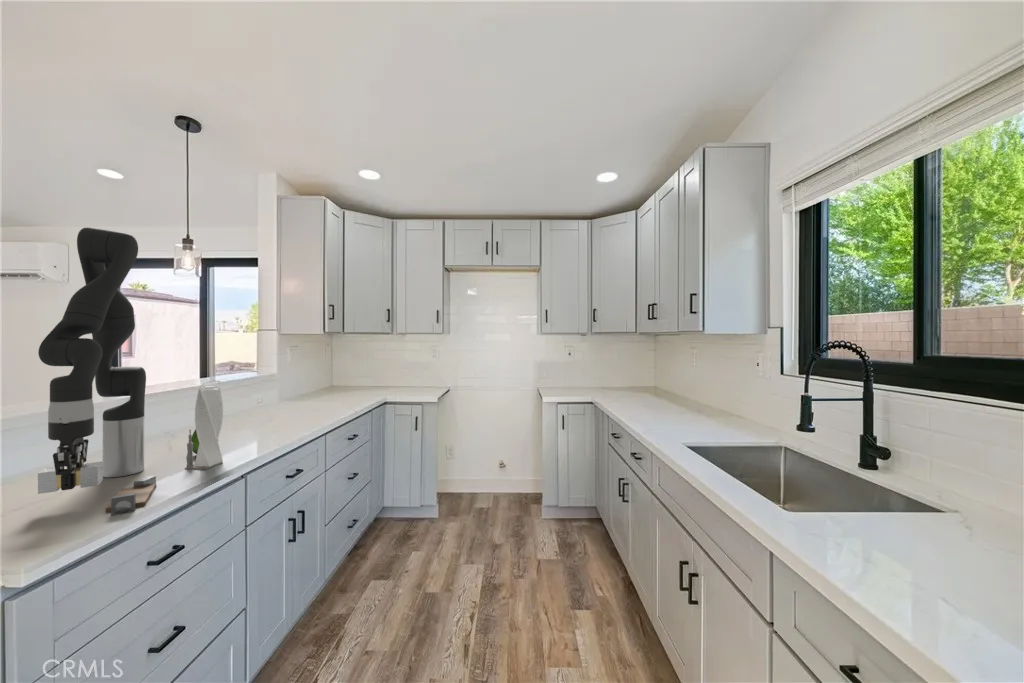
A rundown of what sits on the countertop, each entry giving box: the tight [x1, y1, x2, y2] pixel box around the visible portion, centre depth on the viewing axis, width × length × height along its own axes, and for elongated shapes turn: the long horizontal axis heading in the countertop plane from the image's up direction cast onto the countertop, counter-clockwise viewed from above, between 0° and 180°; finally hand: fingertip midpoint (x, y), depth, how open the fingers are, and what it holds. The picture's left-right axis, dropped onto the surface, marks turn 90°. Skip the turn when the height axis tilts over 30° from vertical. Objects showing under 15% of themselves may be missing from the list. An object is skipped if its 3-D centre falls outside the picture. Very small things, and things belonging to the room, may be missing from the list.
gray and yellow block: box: [37, 461, 104, 495], centre depth 96 cm, size 4×10×5 cm, turn 124°
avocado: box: [191, 428, 199, 455], centre depth 140 cm, size 8×8×12 cm
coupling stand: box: [105, 475, 157, 516], centre depth 102 cm, size 21×7×4 cm, turn 35°
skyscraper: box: [184, 380, 224, 471], centre depth 128 cm, size 8×8×28 cm
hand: (71, 485), depth 96 cm, fingers closed on gray and yellow block, 4 cm apart
